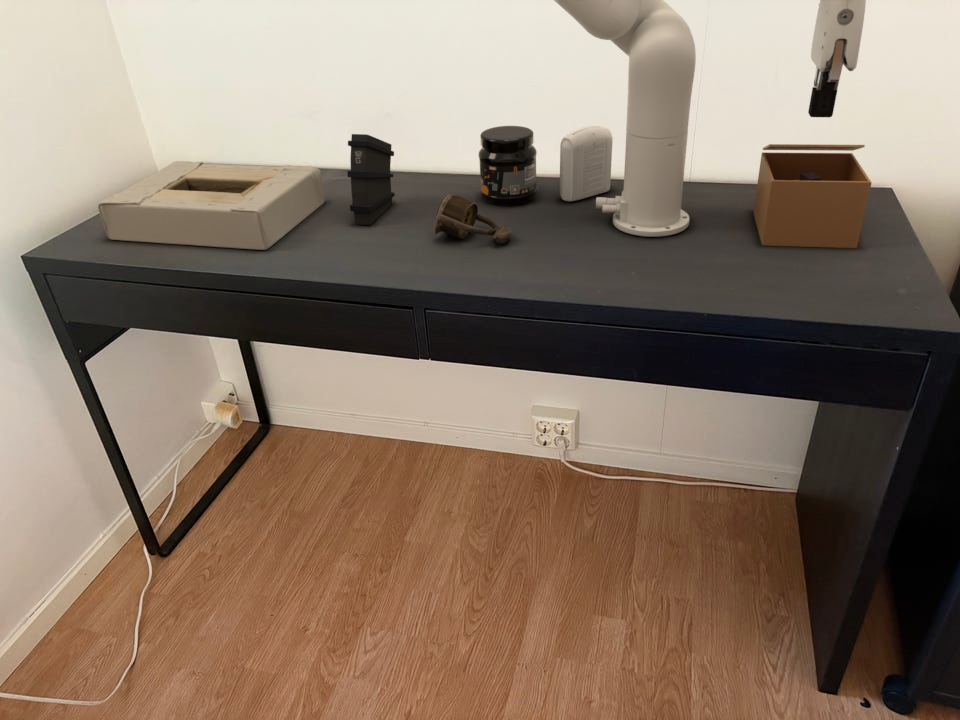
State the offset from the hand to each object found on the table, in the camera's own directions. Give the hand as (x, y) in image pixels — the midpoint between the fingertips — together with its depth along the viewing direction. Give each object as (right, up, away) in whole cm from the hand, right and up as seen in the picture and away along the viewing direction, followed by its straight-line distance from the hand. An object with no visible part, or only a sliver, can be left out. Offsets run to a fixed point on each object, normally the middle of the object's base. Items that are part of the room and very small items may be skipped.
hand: (819, 115), depth 116 cm
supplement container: (-46, -7, +28) cm, 54 cm away
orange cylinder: (+1, -15, +8) cm, 17 cm away
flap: (+1, -4, +5) cm, 6 cm away
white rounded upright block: (-32, -6, +27) cm, 42 cm away
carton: (+1, -16, +8) cm, 18 cm away
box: (-99, -11, +25) cm, 103 cm away
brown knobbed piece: (-53, -17, +12) cm, 57 cm away
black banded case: (-70, -10, +25) cm, 75 cm away
